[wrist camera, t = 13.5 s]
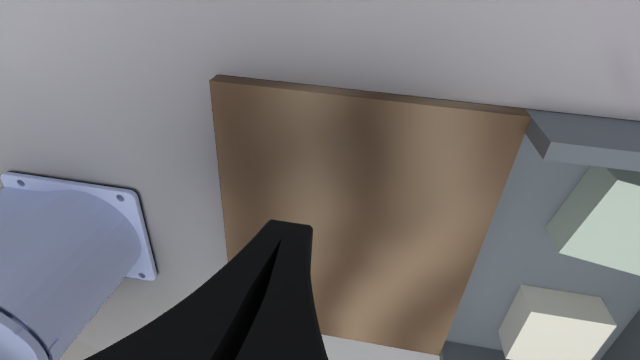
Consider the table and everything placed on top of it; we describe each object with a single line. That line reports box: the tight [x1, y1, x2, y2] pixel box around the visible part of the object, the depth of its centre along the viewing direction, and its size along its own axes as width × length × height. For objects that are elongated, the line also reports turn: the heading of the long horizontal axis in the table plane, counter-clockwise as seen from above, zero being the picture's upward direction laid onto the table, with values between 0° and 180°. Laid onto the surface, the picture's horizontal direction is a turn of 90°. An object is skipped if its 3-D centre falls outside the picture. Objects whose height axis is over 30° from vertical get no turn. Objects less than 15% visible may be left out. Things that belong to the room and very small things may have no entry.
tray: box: [439, 109, 640, 360], centre depth 21 cm, size 11×18×4 cm, turn 177°
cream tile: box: [498, 285, 617, 360], centre depth 23 cm, size 4×4×2 cm
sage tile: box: [545, 166, 640, 276], centre depth 18 cm, size 4×4×2 cm
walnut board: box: [209, 75, 531, 355], centre depth 23 cm, size 15×18×1 cm
